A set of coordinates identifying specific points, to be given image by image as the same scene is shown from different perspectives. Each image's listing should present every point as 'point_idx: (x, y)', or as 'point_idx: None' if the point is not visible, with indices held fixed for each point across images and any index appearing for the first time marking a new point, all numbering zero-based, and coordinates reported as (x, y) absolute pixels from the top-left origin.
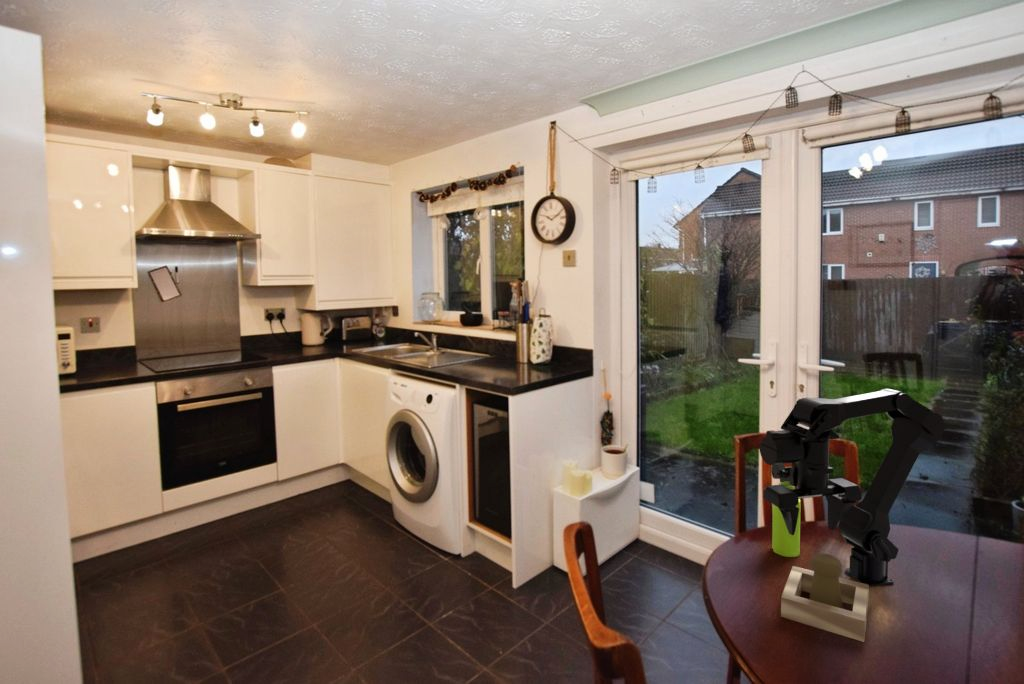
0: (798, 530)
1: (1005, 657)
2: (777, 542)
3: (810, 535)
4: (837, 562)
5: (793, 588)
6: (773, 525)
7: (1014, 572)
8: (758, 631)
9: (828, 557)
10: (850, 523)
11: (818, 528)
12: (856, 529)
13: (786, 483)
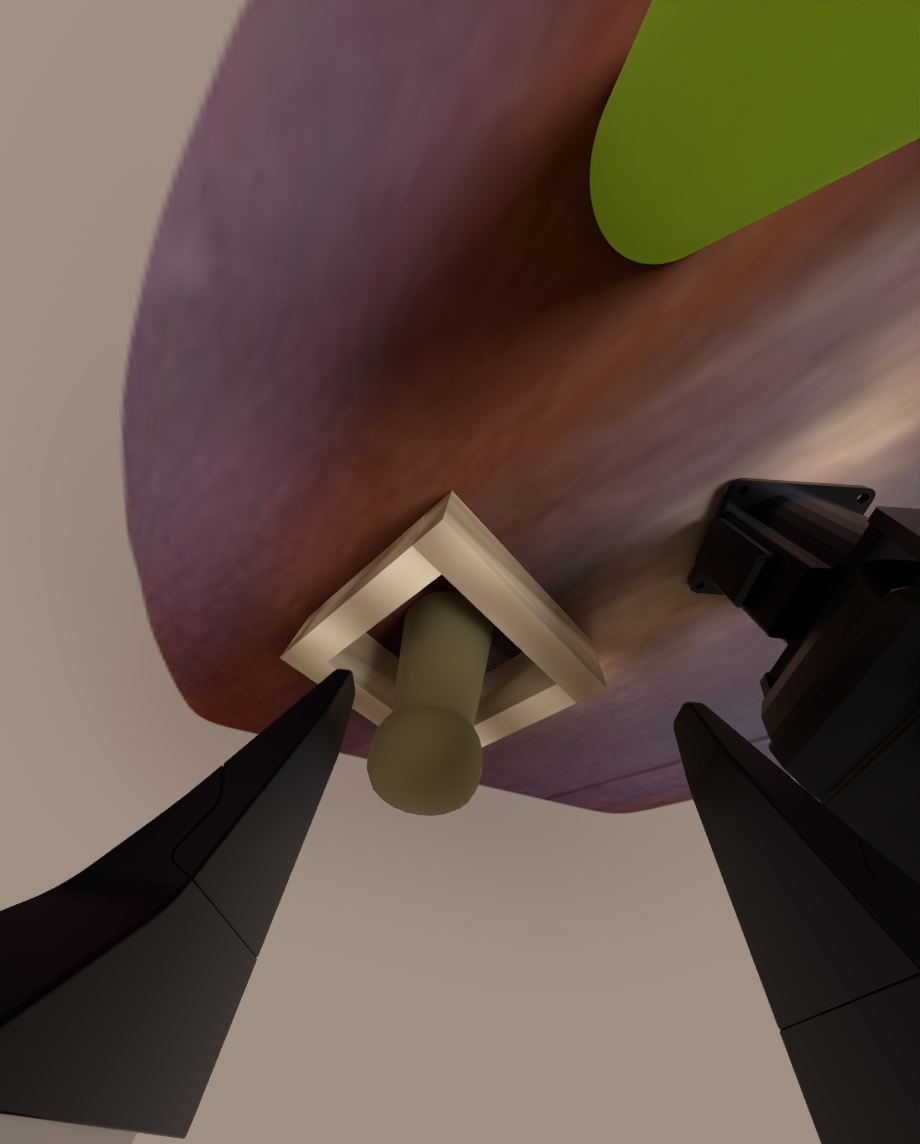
0: (802, 196)
1: (659, 799)
2: (611, 148)
3: None
4: (443, 813)
5: (344, 637)
6: None
7: None
8: (228, 640)
9: (425, 801)
10: (898, 756)
11: None
12: (854, 757)
13: None
